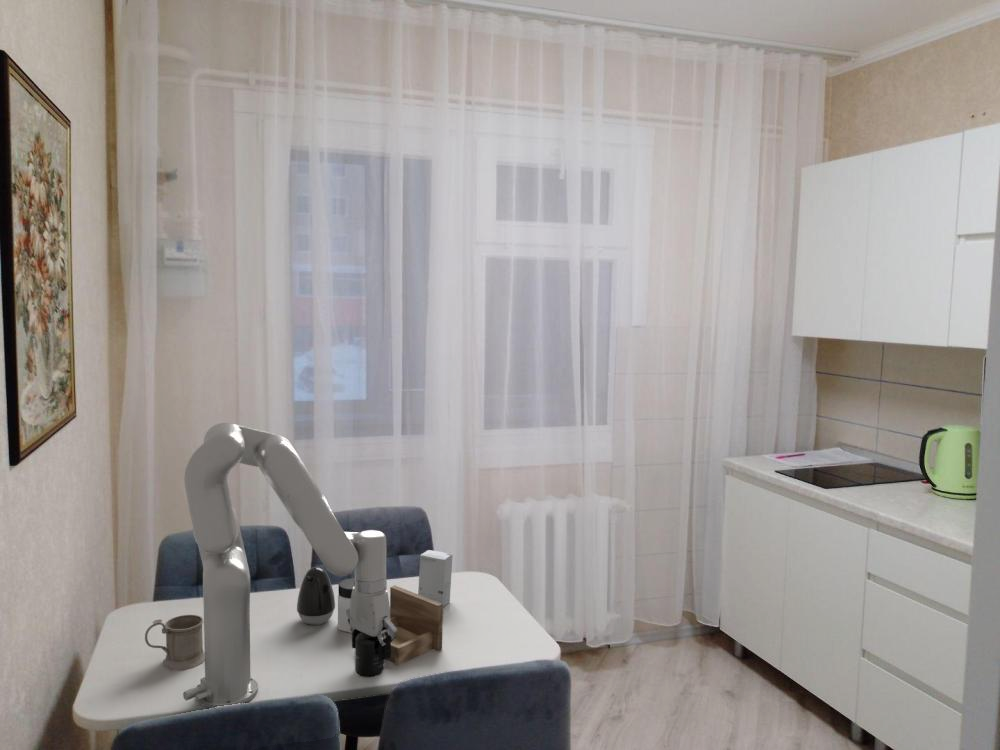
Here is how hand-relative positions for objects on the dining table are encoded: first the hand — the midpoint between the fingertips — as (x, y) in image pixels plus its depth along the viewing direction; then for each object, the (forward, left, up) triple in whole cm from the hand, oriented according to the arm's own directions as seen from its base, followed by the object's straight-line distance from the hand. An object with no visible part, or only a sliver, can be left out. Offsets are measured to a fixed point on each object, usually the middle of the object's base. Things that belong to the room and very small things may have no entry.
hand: (371, 652), depth 178 cm
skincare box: (+39, +17, -5) cm, 43 cm away
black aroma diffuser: (+8, +32, -5) cm, 33 cm away
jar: (+13, +22, -5) cm, 26 cm away
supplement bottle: (0, 0, -5) cm, 5 cm away
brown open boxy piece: (+13, +4, -5) cm, 14 cm away
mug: (-29, +37, -5) cm, 48 cm away
